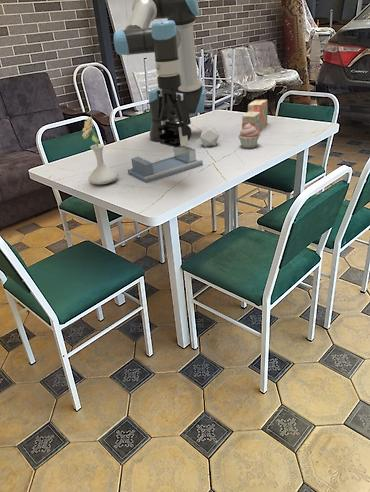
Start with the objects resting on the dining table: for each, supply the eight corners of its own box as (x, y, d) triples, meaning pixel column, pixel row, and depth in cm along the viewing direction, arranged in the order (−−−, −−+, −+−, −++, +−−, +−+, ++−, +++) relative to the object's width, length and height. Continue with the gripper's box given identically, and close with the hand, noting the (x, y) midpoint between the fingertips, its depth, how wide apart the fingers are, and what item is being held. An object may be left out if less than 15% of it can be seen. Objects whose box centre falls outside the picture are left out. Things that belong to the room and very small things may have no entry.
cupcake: (261, 148, 180) (261, 124, 175) (239, 150, 180) (239, 126, 175) (258, 142, 188) (258, 119, 183) (237, 144, 188) (236, 121, 184)
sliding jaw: (174, 157, 175) (173, 145, 172) (185, 154, 177) (184, 142, 175) (190, 163, 167) (188, 151, 164) (201, 160, 169) (200, 147, 167)
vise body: (128, 174, 167) (125, 158, 164) (183, 157, 179) (181, 143, 176) (146, 183, 157) (143, 166, 154) (202, 165, 168) (201, 149, 165)
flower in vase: (91, 178, 167) (77, 112, 155) (120, 174, 167) (108, 109, 155) (86, 190, 155) (71, 121, 143) (117, 187, 156) (105, 117, 143)
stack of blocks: (255, 136, 197) (254, 109, 191) (242, 136, 199) (241, 109, 193) (267, 124, 213) (267, 99, 207) (255, 124, 216) (255, 99, 210)
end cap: (192, 142, 148) (191, 122, 144) (177, 148, 144) (175, 128, 141) (173, 138, 155) (171, 119, 151) (158, 143, 151) (156, 124, 147)
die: (213, 150, 186) (223, 130, 184) (195, 141, 185) (205, 121, 184) (212, 151, 194) (222, 132, 192) (195, 143, 193) (205, 123, 192)
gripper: (141, 73, 145) (149, 138, 156) (178, 79, 128) (184, 151, 139) (159, 70, 148) (166, 133, 159) (198, 75, 131) (203, 145, 142)
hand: (175, 141), depth 149 cm, fingers closed on end cap, 10 cm apart
